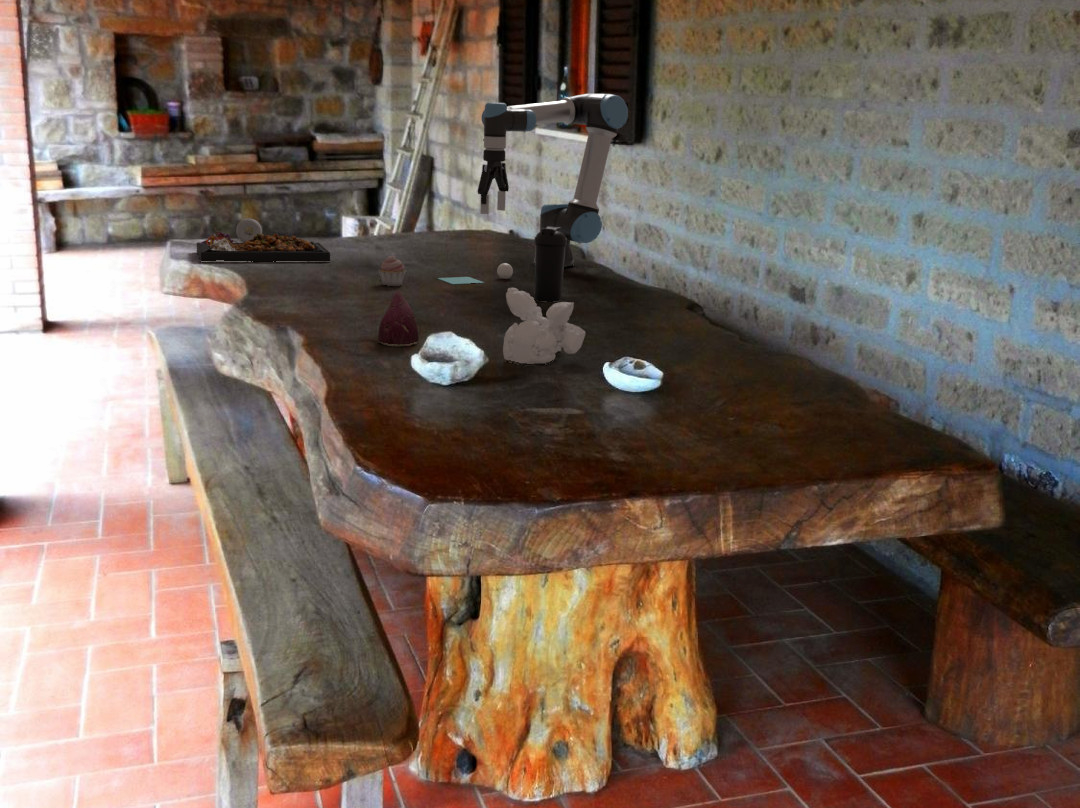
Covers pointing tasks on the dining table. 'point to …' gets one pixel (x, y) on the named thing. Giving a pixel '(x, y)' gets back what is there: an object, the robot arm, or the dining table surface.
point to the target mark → (460, 280)
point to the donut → (244, 224)
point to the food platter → (261, 249)
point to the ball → (504, 271)
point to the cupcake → (392, 271)
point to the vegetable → (398, 323)
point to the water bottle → (549, 264)
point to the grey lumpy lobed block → (539, 330)
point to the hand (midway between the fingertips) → (492, 212)
